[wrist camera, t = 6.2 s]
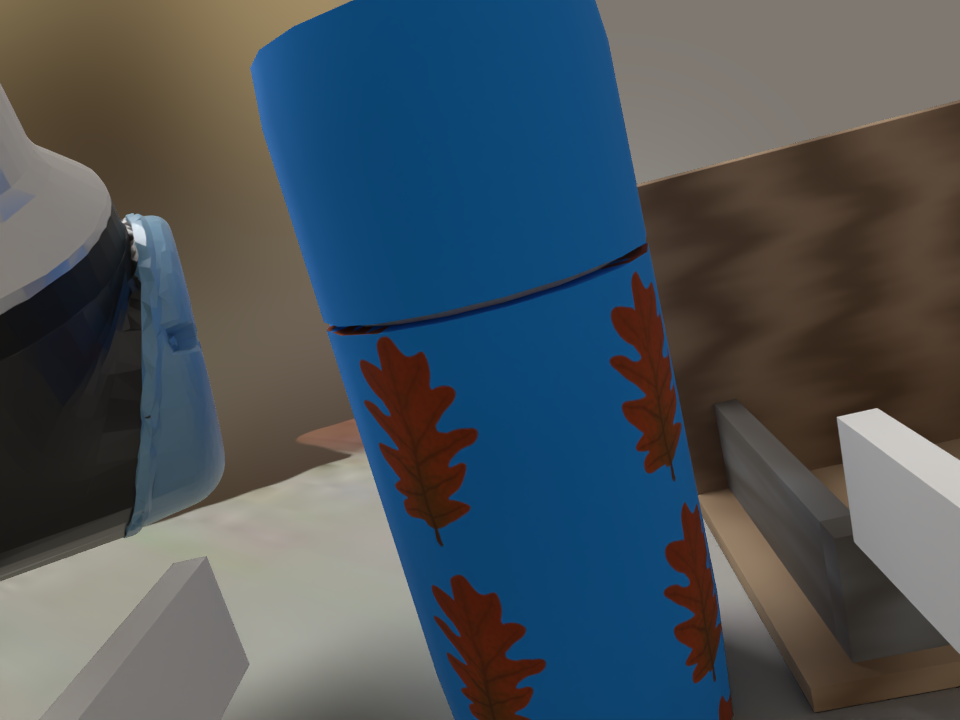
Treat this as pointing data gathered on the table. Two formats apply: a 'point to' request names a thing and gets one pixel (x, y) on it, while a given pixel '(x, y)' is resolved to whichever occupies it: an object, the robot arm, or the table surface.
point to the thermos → (503, 349)
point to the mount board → (816, 374)
